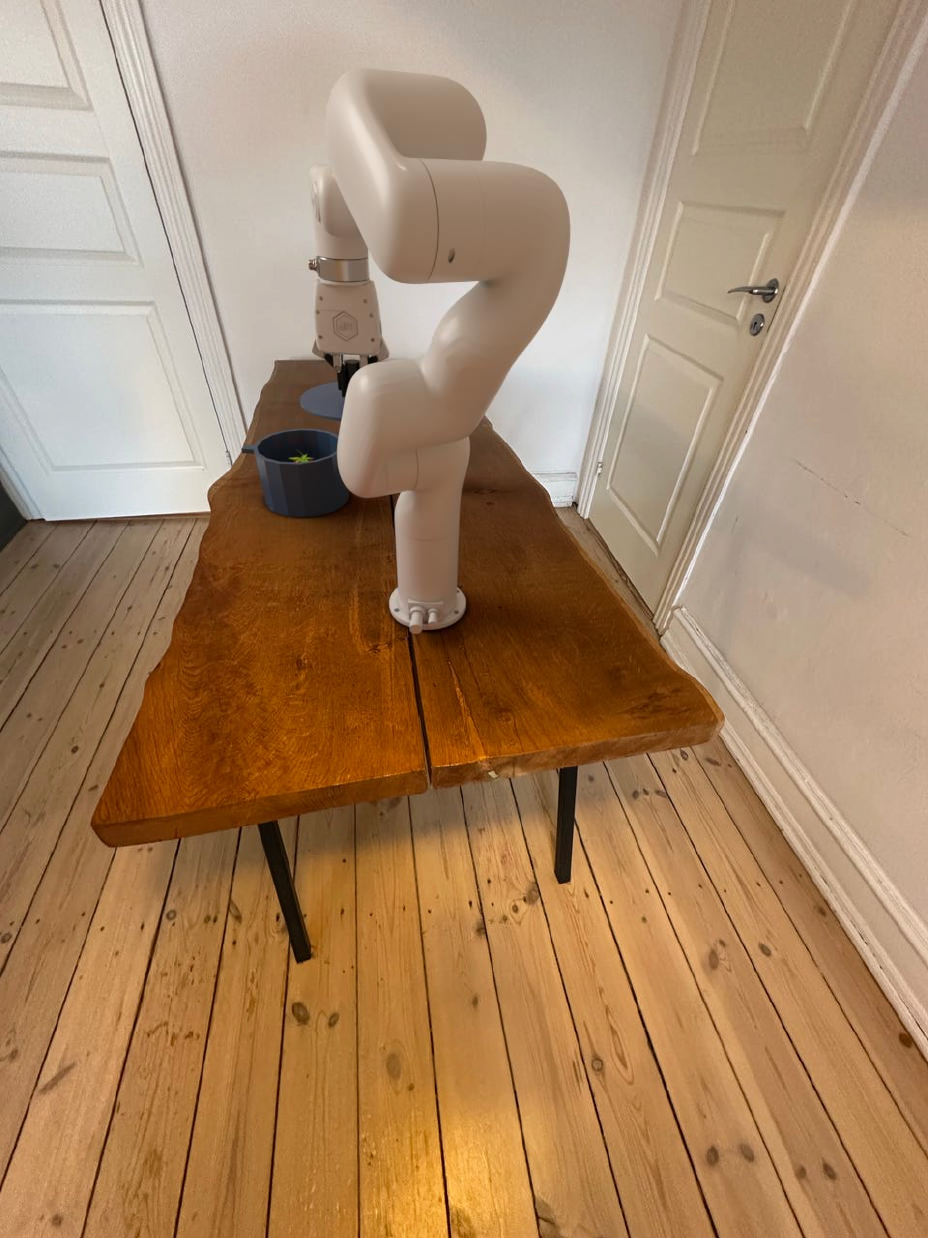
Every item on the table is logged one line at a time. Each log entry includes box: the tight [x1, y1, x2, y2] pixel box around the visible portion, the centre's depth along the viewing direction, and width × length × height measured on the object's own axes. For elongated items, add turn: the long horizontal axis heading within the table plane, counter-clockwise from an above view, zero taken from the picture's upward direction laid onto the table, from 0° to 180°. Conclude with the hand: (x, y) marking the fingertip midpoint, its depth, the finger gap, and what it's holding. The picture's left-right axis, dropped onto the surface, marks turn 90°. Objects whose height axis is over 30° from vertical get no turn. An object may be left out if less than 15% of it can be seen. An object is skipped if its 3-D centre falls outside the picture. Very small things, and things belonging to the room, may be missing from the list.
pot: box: [241, 428, 351, 518], centre depth 114 cm, size 18×23×12 cm
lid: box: [299, 358, 361, 422], centre depth 93 cm, size 19×19×7 cm
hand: (354, 394), depth 94 cm, fingers closed on lid, 2 cm apart
